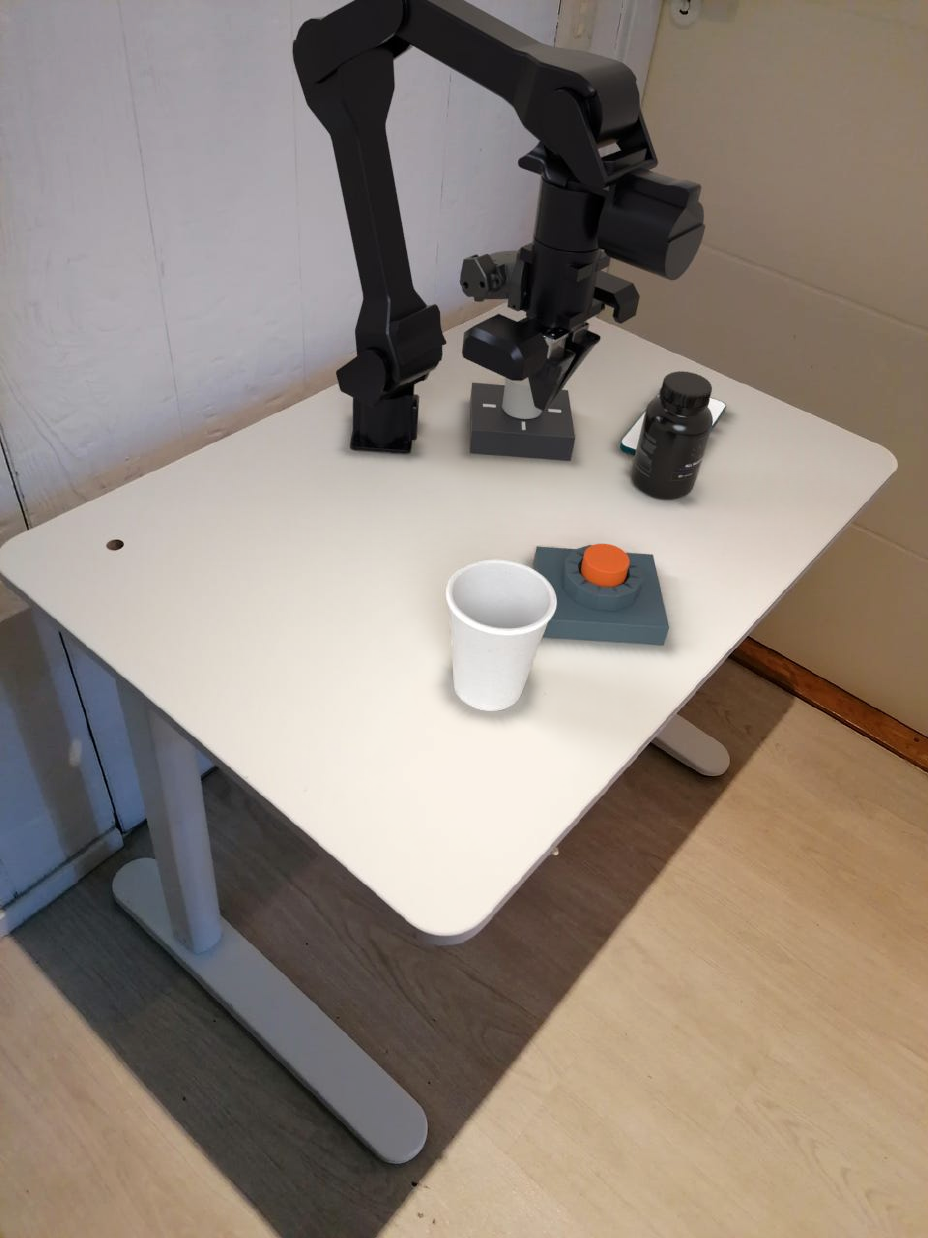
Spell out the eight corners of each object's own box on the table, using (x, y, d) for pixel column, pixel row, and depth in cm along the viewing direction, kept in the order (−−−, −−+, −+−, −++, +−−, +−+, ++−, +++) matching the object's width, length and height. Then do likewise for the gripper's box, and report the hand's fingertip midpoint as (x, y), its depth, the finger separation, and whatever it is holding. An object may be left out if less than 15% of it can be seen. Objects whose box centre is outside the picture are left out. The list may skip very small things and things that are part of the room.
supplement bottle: (692, 507, 100) (722, 407, 92) (627, 495, 101) (650, 395, 93) (695, 469, 105) (723, 371, 97) (632, 458, 106) (654, 360, 97)
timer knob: (543, 420, 105) (548, 384, 102) (502, 417, 104) (507, 381, 102) (541, 399, 108) (546, 364, 105) (501, 396, 108) (506, 361, 105)
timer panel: (469, 453, 104) (472, 428, 102) (469, 405, 112) (472, 380, 109) (570, 461, 105) (575, 436, 103) (564, 412, 112) (568, 388, 110)
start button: (582, 586, 84) (586, 570, 83) (578, 557, 87) (582, 541, 86) (628, 589, 84) (632, 573, 83) (622, 560, 87) (626, 544, 86)
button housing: (538, 637, 84) (545, 603, 81) (533, 564, 91) (539, 530, 89) (663, 645, 85) (674, 612, 82) (648, 572, 92) (657, 538, 89)
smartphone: (683, 474, 105) (727, 410, 116) (685, 467, 104) (729, 403, 115) (615, 450, 107) (664, 389, 118) (617, 443, 107) (666, 382, 117)
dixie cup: (559, 700, 79) (579, 609, 72) (473, 738, 75) (486, 646, 68) (501, 636, 84) (515, 546, 77) (417, 669, 80) (425, 577, 73)
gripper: (552, 184, 88) (530, 344, 98) (417, 235, 76) (408, 410, 87) (658, 222, 83) (623, 385, 93) (531, 282, 72) (506, 461, 82)
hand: (541, 407), depth 89 cm, fingers closed
